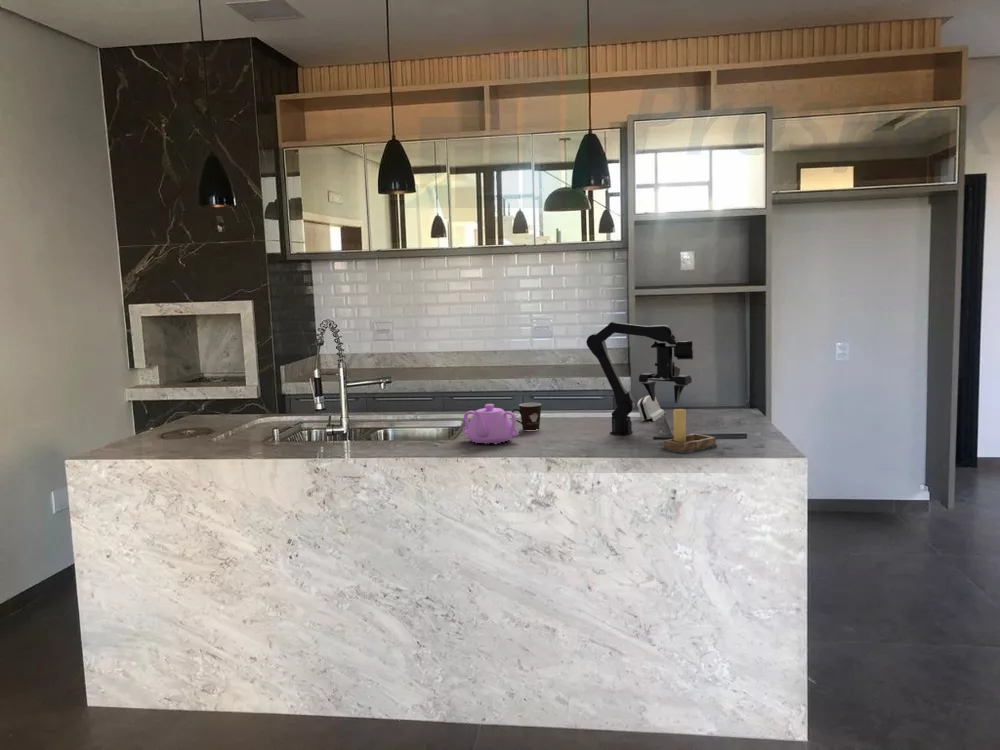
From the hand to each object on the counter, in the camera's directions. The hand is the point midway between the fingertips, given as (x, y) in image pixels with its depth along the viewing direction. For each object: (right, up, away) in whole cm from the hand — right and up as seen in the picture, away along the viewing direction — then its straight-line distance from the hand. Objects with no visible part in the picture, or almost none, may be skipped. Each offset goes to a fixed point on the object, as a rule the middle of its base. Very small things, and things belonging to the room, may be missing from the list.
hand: (664, 402), depth 285 cm
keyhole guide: (+4, -15, -21) cm, 26 cm away
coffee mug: (-50, -12, +19) cm, 55 cm away
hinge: (+1, -8, +35) cm, 36 cm away
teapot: (-65, -15, -1) cm, 66 cm away
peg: (0, -15, -23) cm, 27 cm away
